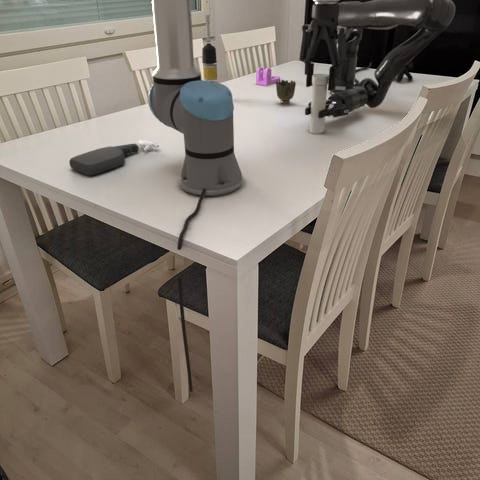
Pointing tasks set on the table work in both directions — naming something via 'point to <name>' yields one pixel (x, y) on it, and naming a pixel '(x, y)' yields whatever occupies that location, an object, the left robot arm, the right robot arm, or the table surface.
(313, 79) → the lid
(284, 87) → the cup
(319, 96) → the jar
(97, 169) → the spray bottle
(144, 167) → the table surface
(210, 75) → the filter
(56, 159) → the table surface
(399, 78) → the squiggle
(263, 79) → the bracket
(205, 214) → the table surface
